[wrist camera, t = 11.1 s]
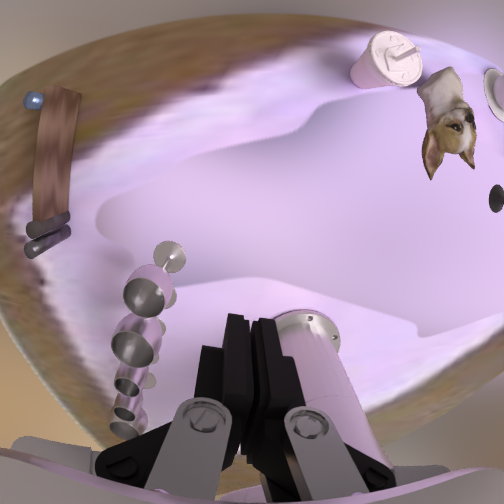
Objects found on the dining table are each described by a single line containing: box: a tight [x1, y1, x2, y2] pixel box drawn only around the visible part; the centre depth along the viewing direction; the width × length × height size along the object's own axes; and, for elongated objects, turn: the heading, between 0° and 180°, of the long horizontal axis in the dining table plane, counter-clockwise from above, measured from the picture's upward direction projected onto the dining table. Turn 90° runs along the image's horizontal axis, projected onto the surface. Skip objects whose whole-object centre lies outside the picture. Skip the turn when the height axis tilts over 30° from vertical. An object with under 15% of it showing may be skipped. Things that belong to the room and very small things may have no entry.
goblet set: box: [109, 241, 186, 440], centre depth 35 cm, size 28×6×13 cm, turn 160°
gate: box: [26, 85, 81, 239], centre depth 28 cm, size 18×2×8 cm, turn 170°
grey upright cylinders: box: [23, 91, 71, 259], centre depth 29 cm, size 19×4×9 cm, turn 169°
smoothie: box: [350, 31, 422, 89], centre depth 24 cm, size 6×6×14 cm
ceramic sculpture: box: [417, 67, 477, 180], centre depth 29 cm, size 11×9×15 cm
